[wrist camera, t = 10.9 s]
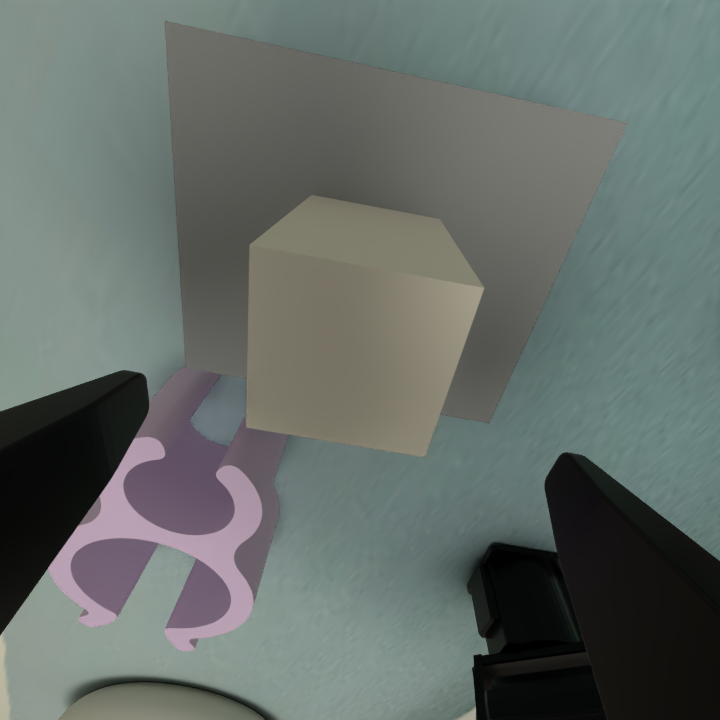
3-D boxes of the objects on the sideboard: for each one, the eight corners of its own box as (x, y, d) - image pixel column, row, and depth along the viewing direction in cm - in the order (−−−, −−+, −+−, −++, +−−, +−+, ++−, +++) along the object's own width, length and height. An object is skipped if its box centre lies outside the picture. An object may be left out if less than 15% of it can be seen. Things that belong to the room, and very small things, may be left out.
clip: (140, 331, 22) (51, 402, 16) (337, 408, 24) (321, 496, 18) (107, 525, 32) (44, 614, 26) (250, 569, 34) (221, 661, 28)
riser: (562, 126, 16) (627, 123, 12) (468, 366, 22) (489, 423, 18) (226, 53, 15) (164, 20, 11) (226, 321, 21) (185, 367, 17)
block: (439, 219, 13) (484, 288, 7) (409, 332, 16) (425, 457, 10) (311, 194, 13) (249, 245, 7) (300, 313, 15) (245, 427, 9)
